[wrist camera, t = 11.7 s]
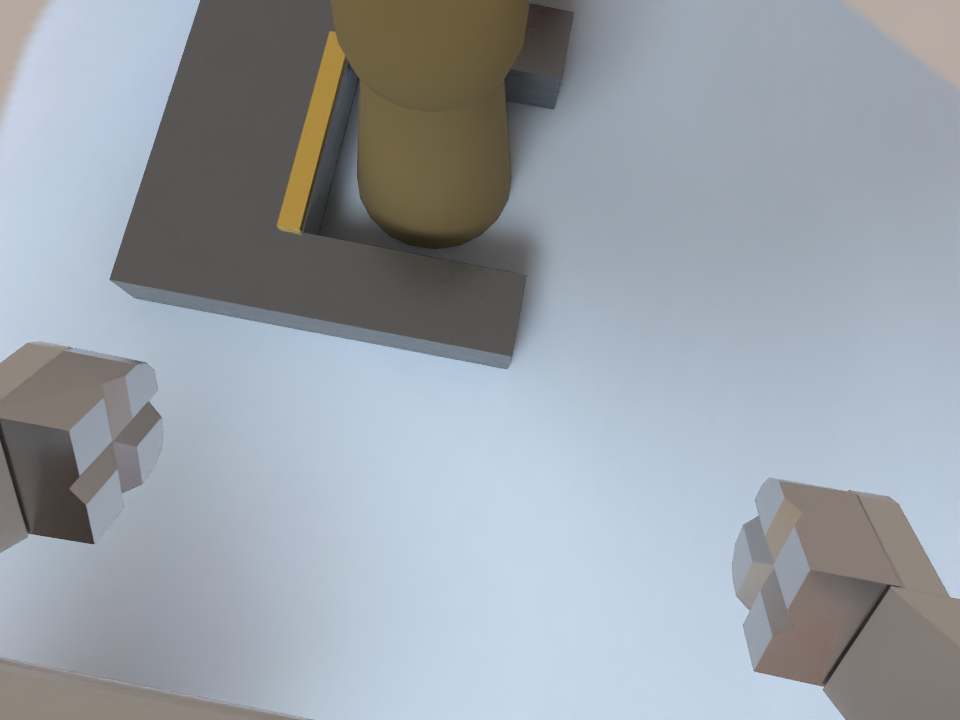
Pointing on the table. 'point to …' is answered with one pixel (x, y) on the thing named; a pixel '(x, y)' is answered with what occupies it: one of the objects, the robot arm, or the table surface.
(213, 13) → the grey u-shaped bracket
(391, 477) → the table surface
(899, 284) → the table surface
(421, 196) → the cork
